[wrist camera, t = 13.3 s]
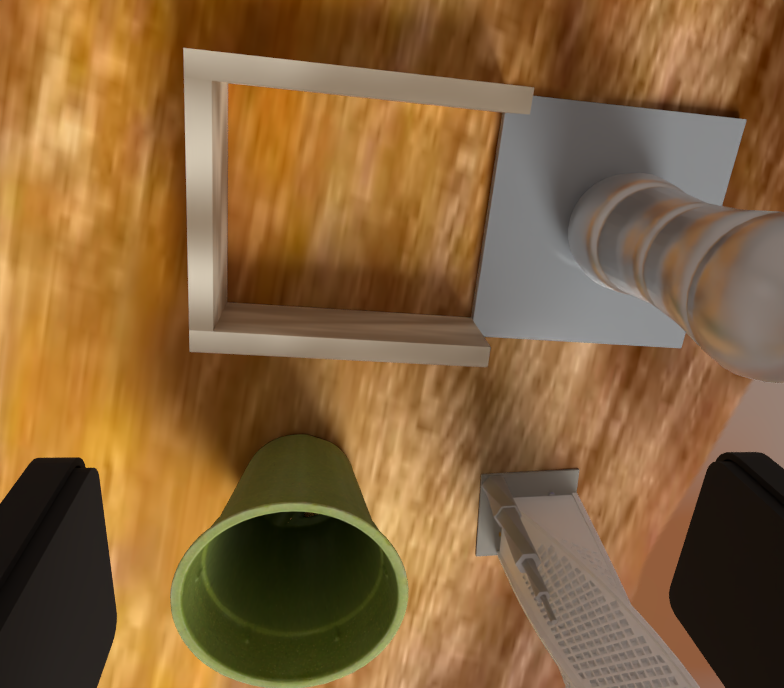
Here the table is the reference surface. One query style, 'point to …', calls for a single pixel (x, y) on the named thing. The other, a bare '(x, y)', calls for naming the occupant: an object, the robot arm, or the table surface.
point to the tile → (556, 203)
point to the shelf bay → (210, 219)
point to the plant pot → (291, 574)
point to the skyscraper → (570, 583)
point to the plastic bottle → (690, 266)
